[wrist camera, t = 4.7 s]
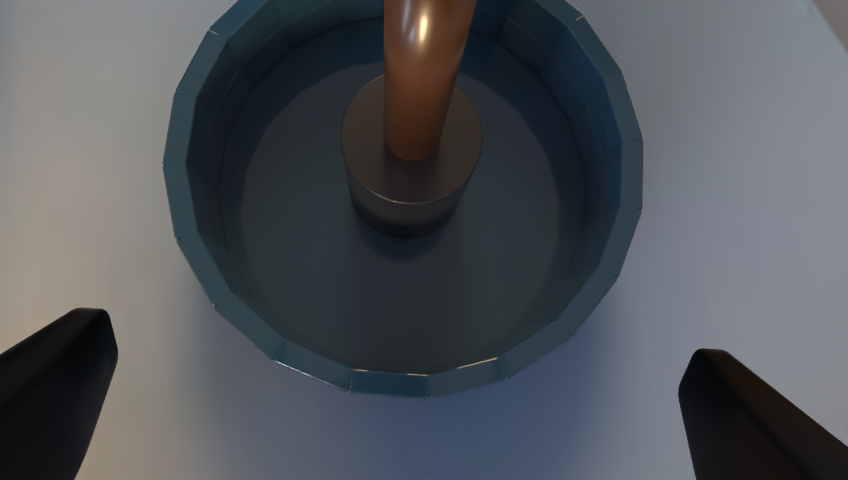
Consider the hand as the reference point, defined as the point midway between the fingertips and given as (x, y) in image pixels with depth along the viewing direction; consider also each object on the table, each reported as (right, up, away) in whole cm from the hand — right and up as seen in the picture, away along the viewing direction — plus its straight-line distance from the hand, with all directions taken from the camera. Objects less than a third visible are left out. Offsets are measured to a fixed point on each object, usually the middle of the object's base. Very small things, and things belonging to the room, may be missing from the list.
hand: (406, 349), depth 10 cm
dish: (0, +4, +13) cm, 14 cm away
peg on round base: (0, +4, +13) cm, 13 cm away
